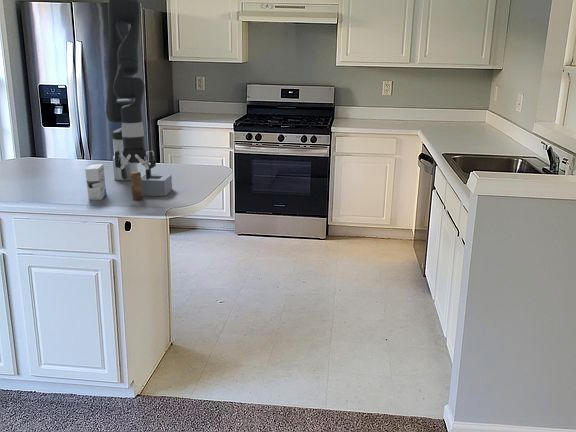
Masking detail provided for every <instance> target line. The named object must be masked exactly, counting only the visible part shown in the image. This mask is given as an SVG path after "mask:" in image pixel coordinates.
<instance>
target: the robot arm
mask: <svg viewBox="0 0 576 432" xmlns="http://www.w3.org/2000/svg"><path fill="white" fill-rule="evenodd" d="M140 8H141V6H140V2H139V0H108V2H107V18H108V19H107V21H108V22H107V23H108V53H107V94H106V103H105V115H106V118H107V120H108V122H110V123H121V127H120V128H118V129H115V130H113V131H112V135H111V137H112V138H111V139H112V146H113V156H112V166H113V167H112V169H113V176H114V177H113V178H114V180H117V181H124V182H125V181H131V174H130V173H131V172H139V165H138V164H141V165H142V166H143V167H144V168H145V175H146V179H147V180H149V179H150V178H151V174H152V169H154V168H155V167H156V166H157V163H156V162H157V161H156V158H155V157H156V156H155V151H154V150H149V151H146V147H145V131H144V130H145V129H144V125H143V115H142V103H143V97H144V93H145V89H146V88H145V83H144V81H143V79H142V78H141V77H132V76H135V75H136V74H138V72H139V54H138V53H139V50H138V49H139V36H140V24H141V23H140V21H141V9H140ZM118 24H122V25H123V24H124V25H130V27H129V31H128V33H127V34H126V36H125V37H124V38H123V37H122V34H121V32H120V30H119V26H118ZM132 99H134V101H133V100H132ZM146 156H147V157H148V158H149V160H148V159H147V158H146Z"/></svg>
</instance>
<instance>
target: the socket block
mask: <svg viewBox="0 0 576 432" xmlns="http://www.w3.org/2000/svg"><path fill="white" fill-rule="evenodd" d="M172 179H173V178H172V174H164V173H163V174H162V173H161V174H160V173H159V174H157V173H155V174H153V173H151V178H150V179H149V180H147V179H146V174H144V175H143V176H141V184H142V197H143V196H145V197H146V196H147V197H148V196H149V197H166V196H167V195H168V194H169V193H171V192H172V191H173V182H172V181H173V180H172Z"/></svg>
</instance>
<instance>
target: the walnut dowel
mask: <svg viewBox="0 0 576 432" xmlns="http://www.w3.org/2000/svg"><path fill="white" fill-rule="evenodd" d="M130 174H131V180H130V183H131V194H132V195H131V196H132V200H133V201H142V200H143V196H142V184H141V178H142V174H141V172H140V171H138V172H131V173H130Z"/></svg>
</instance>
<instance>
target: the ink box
mask: <svg viewBox="0 0 576 432" xmlns="http://www.w3.org/2000/svg"><path fill="white" fill-rule="evenodd" d="M85 178H86V186H87V187H86V188H87V197H88V198H87V199H88V200H89V201H96V200H100V201H101V200H103V199H104V197H105V196H106V195H107V188H106V187H107V186H106V177H105V168H104V164H103V163H97V164H90V165H89V166H87V167H86V168H85Z"/></svg>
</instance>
